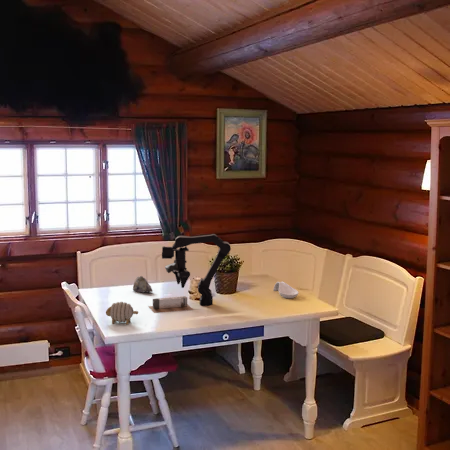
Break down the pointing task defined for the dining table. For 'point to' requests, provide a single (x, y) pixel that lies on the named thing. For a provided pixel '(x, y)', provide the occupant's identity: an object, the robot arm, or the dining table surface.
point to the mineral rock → (141, 285)
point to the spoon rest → (285, 290)
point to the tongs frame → (175, 297)
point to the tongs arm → (168, 303)
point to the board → (170, 309)
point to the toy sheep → (120, 312)
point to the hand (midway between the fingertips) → (180, 285)
